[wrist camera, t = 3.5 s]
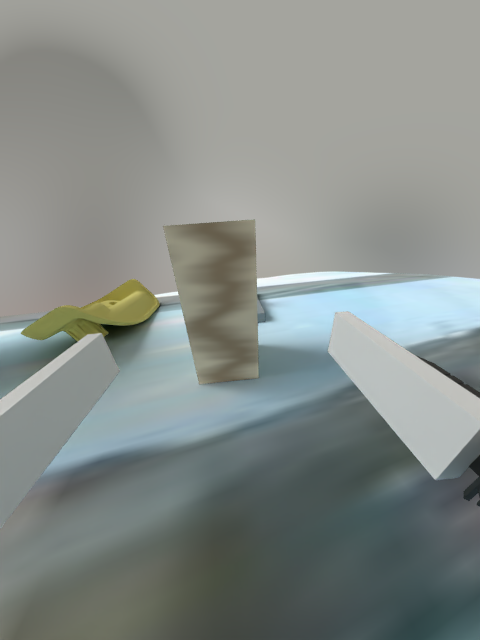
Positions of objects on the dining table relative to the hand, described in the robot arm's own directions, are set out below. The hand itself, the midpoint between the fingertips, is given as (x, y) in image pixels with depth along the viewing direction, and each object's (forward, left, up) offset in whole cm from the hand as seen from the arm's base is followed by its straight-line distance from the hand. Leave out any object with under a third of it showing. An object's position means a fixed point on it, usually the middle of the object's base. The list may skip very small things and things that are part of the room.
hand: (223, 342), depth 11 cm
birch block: (0, +8, -8) cm, 11 cm away
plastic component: (-21, +20, -8) cm, 30 cm away
